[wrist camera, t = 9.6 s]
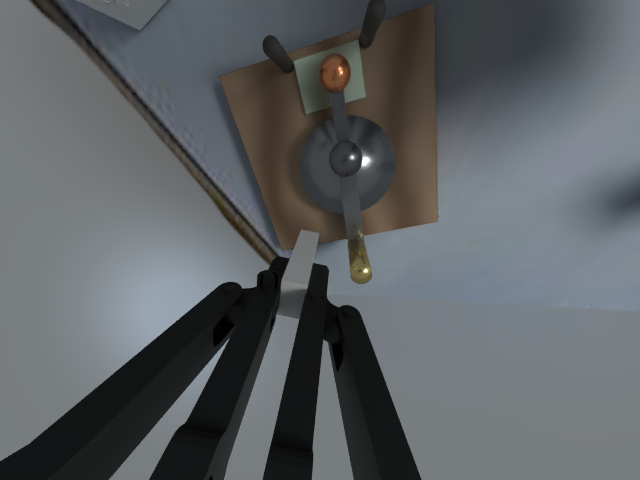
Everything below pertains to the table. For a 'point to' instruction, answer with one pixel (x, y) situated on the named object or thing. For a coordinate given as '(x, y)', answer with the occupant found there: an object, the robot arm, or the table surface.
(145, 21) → the jar
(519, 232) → the table surface
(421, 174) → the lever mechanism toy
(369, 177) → the grey metal domed piece
